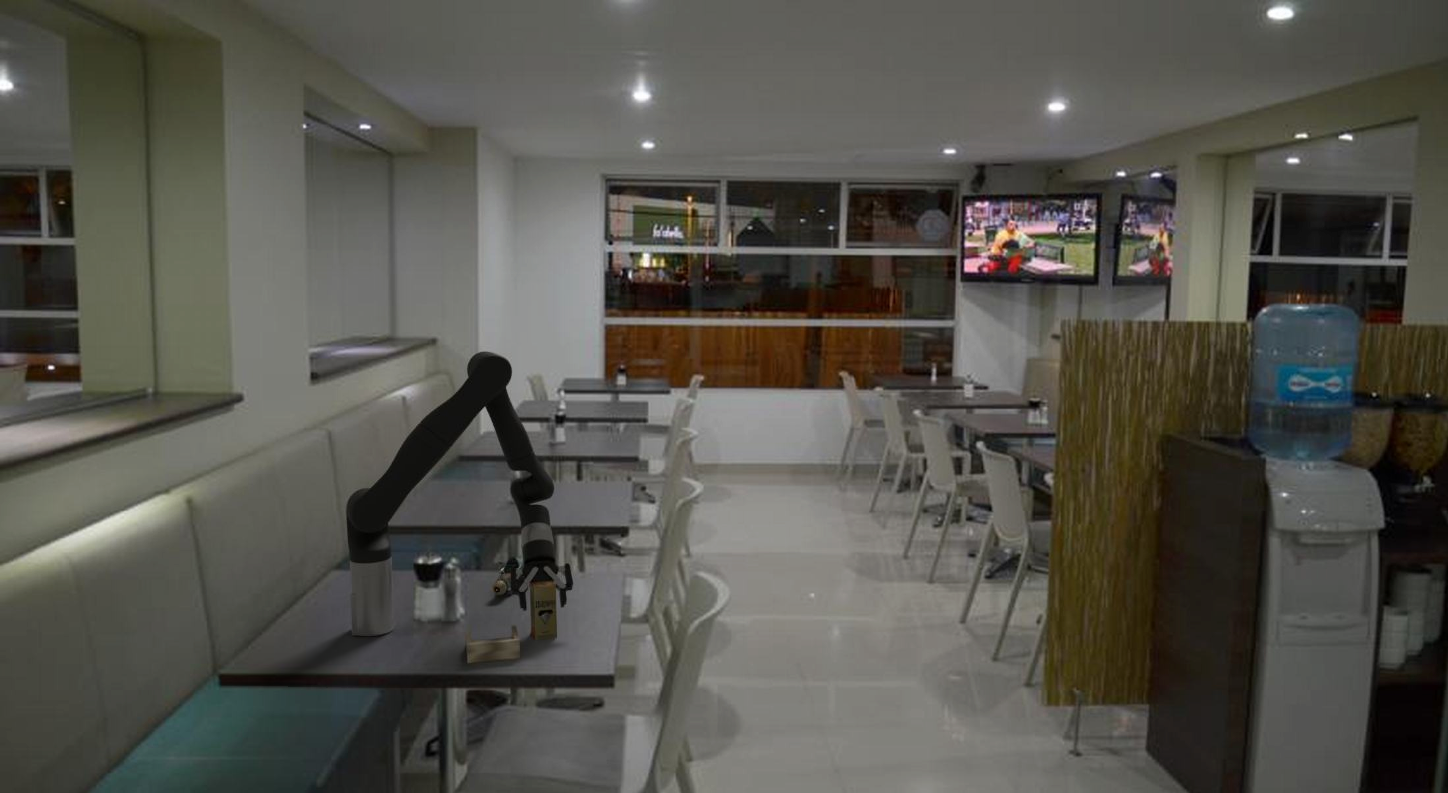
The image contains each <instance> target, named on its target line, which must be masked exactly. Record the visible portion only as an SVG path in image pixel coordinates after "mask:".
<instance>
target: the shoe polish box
mask: <svg viewBox="0 0 1448 793" xmlns="http://www.w3.org/2000/svg"><path fill="white" fill-rule="evenodd" d="M529 604H530V606H529V607H530V609H529V610H530V633H531V635H532V637H533V638H534V641H536V640H537V641H539V640H545V639H554V638H557V637H558V626H557V624H558V622H557V621H558V620H557V619H558V618H557V616H558V615H557V589H556V586H555V584H554V583H553V582H552V581H551V580H550V581H541V582H532V583H530V589H529Z"/></svg>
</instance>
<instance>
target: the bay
mask: <svg viewBox="0 0 1448 793" xmlns="http://www.w3.org/2000/svg"><path fill="white" fill-rule="evenodd" d="M471 632H472V631H471V629H466V630H465V648H466V659H467V663H468V664H471V663H482V662H483V663H484V662H492V661H493V662H494V661H501V660H502V661H503V660H504V661H505V660H513V659H514V660H515V659H521V650H520V649H521V647H520V646H521V645H520V637H519V633H518V628H517V625H511V636H506V637H498V638H497V637H496V638H486V639H476V640H475V639H474V640H473V639H472V634H471Z"/></svg>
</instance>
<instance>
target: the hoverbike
mask: <svg viewBox="0 0 1448 793" xmlns="http://www.w3.org/2000/svg"><path fill="white" fill-rule="evenodd" d="M498 564H499V565H503V566H502V567H501V569H500V570H499V571H498V577H497V580H495V581H494V583H493V584H492V586H491V588H492V592H493V593H494V594H496V595H498V596H502V595H504V594H505V593H506V595H507V596H510V595H511V582H510V574H511V568H512V567H515V568H516V569H523V555H522V554H521V555H519V556H517V557H514V556H511V557H509V558H508V560H507V561H506V563H504V562H501V561H498ZM520 577H522V575H520V576H519V578H518V579H516V582H519V579H520ZM523 578H524V579H525V577H524V576H523Z"/></svg>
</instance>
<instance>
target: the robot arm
mask: <svg viewBox="0 0 1448 793" xmlns="http://www.w3.org/2000/svg"><path fill="white" fill-rule="evenodd" d="M466 372H467V376H468V377H467V379H466V380H465V381H464V383H463V384H462V385H461V386H460V387H459V389H458V390H457V391H456V392H455V393H454V394H453V395H451V397H450V398H448V399H447V400H446V401H444V402H443V403H440V405H438V406H437V407H436V408H434V409H433V410H432V411H430V412H429V413H428V414H426V416H424V417H423V418H422V419H421V420H420V422H419V423H418V424H417V425H416V426H415V427H414V428H413V430H412V431H411V432H409V434H408V435H407V437H406V438H405V439H404V441H403V442H402V444H401V446H400V447H399V449H398V450H397V453H396V454H395V456H394V458H393V460H392V462H391V464H390V465H389V467H388V468H387V470H386V471H385V472H384V474H382V476H381V477H380V478H379V479H378V480H377V481H375V483H374V484H373V485H372V486H370V487H363V488H360V489H357V490H356V491H355V492H353V493H352V494H351V495H350V497H349V498H348V500H347V501H346V502H347V503H346V507H345V509H346V510H345V515H346V517H345V518H346V532H347V533H346V534H347V546H348V547H347V548H348V555H349V571H350V574H349V575H350V598H349V599H350V618H351V619H350V620H351V621H350V622H351V623H350V624H351V636H360V637H374V636H375V637H376V636H380V635H385V634H389V633H390V632H393V630H394V629H395V614H394V612H395V611H394V590H393V589H394V588H393V564H392V562H393V560H392V545H391V539H390V533H389V531H390V530H389V522H390V521H391V520H392V519H393V517H394V515H395V514H396V513H397V511H398V509H399V508H400V507H401V505H402V504H403V502H404V501H405V499H406V498H407V497H408V495H409V494H410V493H411V492H412V491H413V489H414V488H415V487H416V486H417V485H418V484H420V483H421V481H422V480H423V479H424V478H425V477H426V476H427V475H428V474H429V473H430V471H431V470H432V469H434V467H435V466H436V465H437V464H438V463H439V462H440V461H441V460H442V459H443V457H444V456H445V455H446V454H447V453H448V451H450V449H451V448H452V447H453V446H454V444H455V443H456V442H457V441H458V439H459V438H460V437H461V436H462V435H463V433H464V432H465V431H466V430H467V429H468V427H469V426H470V425H471V424H472V422H473V421H474V419H475V418H476V417H477V416H478V415H479V414H480V412H481V411H482V410H483V409H484V408H485V409H486V412H487V414H488V416H489V418H490V421H491V423H492V426H493V430H494V431H495V433H496V434H495V435H496V437H497V439H498V442H499V445H500V448H501V450H502V453H503V456H504V458H505V461H506V465H507V466H508V468H509V469H510V470H511V471H514V472H520V471H522V472H523V471H524V472H528V473H529V474H528V475H525V476H522V477H518V478H515V479H514V480H513V481H512V482H511V484H510V488H509V491H510V496H511V497H512V500H513V502H514V504H515V507H516V510H517V511H518V514H519V519H520V521H519V522H520V531H521V533H520V534H521V536H520V537H521V538H520V541H521V542H520V543H521V546H520V549H521V555H523V569H516V568H515V567H512V568H511V574H510V582H511V590H510V591H511V593H510V595H511V596H518V600H519V607H520V609H522V611H523V612H525V611H527V595H526V594H527V593H528V591H530V583H532V582H541V581H550V580H551V581H552V582H553V583H554V584H555V586H556V591H558V592H559V603H560V604H559V605H560V608H561V609H562V608H564V607H565V606H566V605H567V600H568V598H567V597H568V596H567V591H568V592H569V591H572V590H573V586H574V580H573V576H572V569H571V564H570V563H568V562H567V563H565V564H564V565H559V566H558V564H557V563H556V554H555V553H556V552H555V544H554V537H553V535H554V534H553V532H552V527H551V519H550V518H551V517H550V511H549V509H548V508H547V507H546V506H545V505H543V504H537V503H539V502H543V501H546V500H549V499H551V498H552V497H553V495H554V492H555V484H554V481H553V479H552V477H551V476H550V474H549V473H548V471H546V469H545V468H544V466H543V465H542V464H541V462H540V461H539V459H538V457H537V456H536V454H535V451H534V448H533V446H532V443H531V440H530V437H529V435H528V432H527V431H526V428H525V426H524V424H523V422H522V421H521V419H520V417H519V415H518V413H517V411H516V409H515V407H514V406H513V403H512V401H511V399H510V396H509V393H508V390H507V387H508V385H509V383H510V381H511V379H512V375H513V367H512V365H511V363H510V361H509V360H508V359H507V358H506V357H504V356H503V355H501V354H498V353H495V352H493V351H479V352H476V353H475V354H474V355H472V357H471V358H470V359H469V361H468V364H467V367H466ZM535 503H536V504H535ZM559 573H561V575H562V576H564V579H565V583H564V582H563V581H562V580H561V579H560V577H559V576H558V574H559ZM520 575H521V576H522V577H523V578H524V577H525V578H524V581H523V583H522V584H521V586H520V587H518V586H517V581H516V579H518V578H519V579H520Z"/></svg>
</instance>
